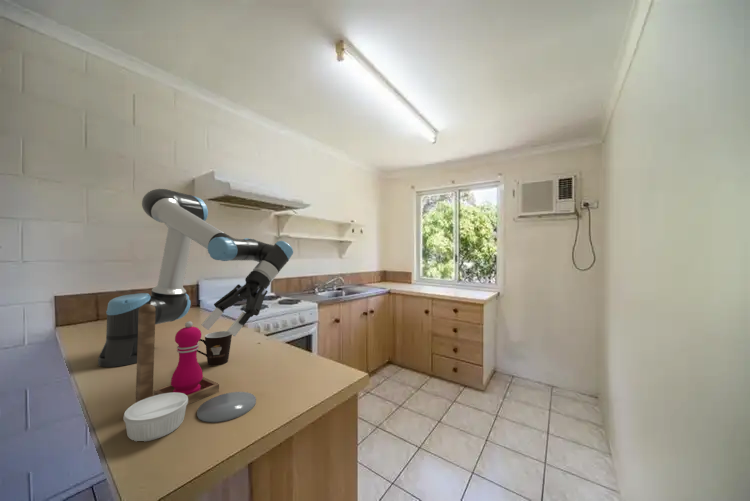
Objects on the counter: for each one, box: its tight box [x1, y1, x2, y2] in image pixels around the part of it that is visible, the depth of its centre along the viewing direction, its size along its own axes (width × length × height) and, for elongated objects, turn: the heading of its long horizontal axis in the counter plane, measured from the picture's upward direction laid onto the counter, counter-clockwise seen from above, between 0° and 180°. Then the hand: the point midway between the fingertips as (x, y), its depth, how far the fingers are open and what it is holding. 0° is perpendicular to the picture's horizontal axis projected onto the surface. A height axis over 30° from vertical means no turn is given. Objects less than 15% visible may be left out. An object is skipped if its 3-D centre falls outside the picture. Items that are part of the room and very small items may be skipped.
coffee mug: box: [197, 330, 233, 367], centre depth 97 cm, size 12×9×10 cm
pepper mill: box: [170, 320, 204, 395], centre depth 74 cm, size 7×7×20 cm
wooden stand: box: [135, 304, 220, 406], centre depth 72 cm, size 18×12×26 cm, turn 150°
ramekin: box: [122, 392, 188, 442], centre depth 60 cm, size 11×11×5 cm
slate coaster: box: [196, 391, 257, 423], centre depth 68 cm, size 13×13×1 cm
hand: (217, 330), depth 80 cm, fingers open, 13 cm apart
